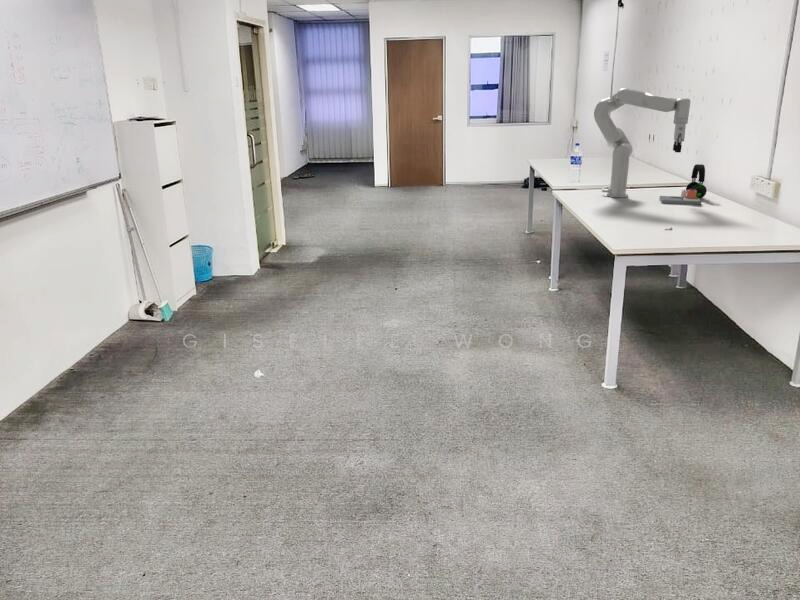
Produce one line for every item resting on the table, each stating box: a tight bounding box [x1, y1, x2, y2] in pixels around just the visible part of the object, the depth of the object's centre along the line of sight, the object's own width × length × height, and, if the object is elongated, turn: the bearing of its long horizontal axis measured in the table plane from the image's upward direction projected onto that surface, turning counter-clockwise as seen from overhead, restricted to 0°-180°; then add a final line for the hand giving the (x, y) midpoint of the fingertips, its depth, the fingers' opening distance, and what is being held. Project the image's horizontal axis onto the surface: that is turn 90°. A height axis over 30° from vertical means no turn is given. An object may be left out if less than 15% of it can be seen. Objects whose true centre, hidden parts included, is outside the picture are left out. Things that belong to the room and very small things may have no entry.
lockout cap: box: [686, 189, 697, 199], centre depth 366 cm, size 4×4×6 cm
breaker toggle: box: [680, 189, 687, 198], centre depth 373 cm, size 2×4×4 cm, turn 163°
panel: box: [659, 195, 702, 206], centre depth 371 cm, size 21×15×3 cm
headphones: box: [685, 163, 708, 199], centre depth 381 cm, size 9×16×20 cm, turn 173°
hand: (676, 151), depth 369 cm, fingers open, 9 cm apart
